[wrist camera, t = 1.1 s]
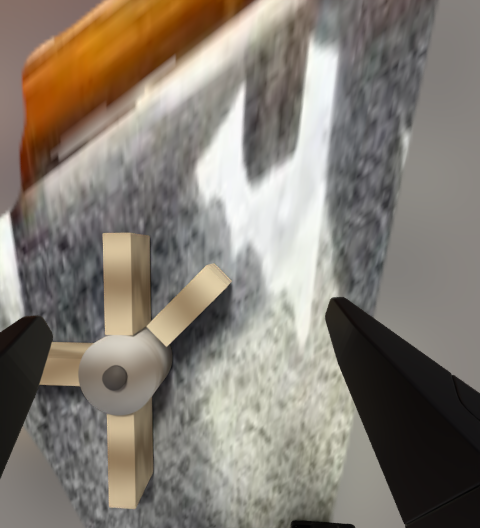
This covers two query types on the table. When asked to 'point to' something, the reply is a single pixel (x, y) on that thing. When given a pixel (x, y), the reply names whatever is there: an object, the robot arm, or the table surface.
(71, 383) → the stool base
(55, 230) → the table surface
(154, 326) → the folding leg
